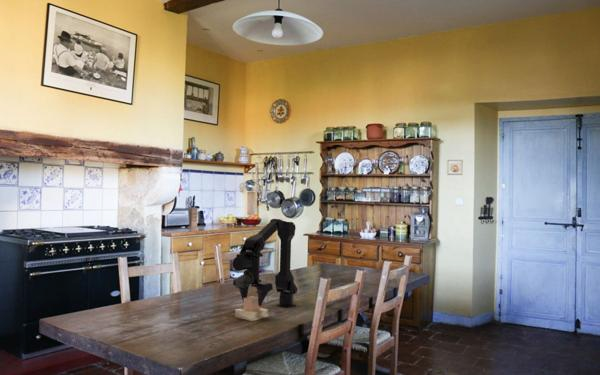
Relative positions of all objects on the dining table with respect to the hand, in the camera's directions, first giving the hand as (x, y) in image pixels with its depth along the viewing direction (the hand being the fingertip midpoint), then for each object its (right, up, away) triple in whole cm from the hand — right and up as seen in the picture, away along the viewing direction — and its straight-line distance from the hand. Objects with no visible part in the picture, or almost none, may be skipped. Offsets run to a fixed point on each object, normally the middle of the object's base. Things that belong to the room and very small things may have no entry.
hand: (252, 304), depth 206 cm
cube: (0, -2, 0) cm, 2 cm away
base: (0, -5, 0) cm, 5 cm away
